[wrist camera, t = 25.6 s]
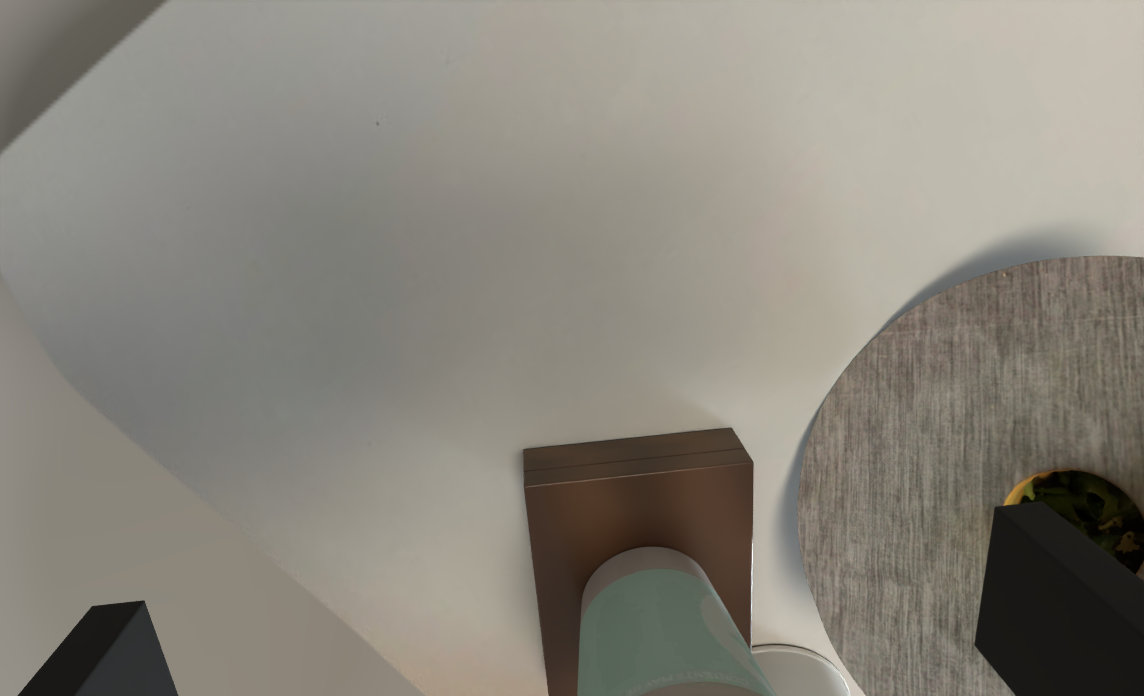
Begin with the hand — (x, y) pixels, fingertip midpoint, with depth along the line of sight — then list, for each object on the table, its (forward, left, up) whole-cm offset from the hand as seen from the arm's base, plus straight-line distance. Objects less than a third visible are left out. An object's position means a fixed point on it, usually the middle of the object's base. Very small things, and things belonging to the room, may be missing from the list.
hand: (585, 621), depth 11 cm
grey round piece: (+24, -14, -27) cm, 39 cm away
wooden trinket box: (+4, -19, -27) cm, 33 cm away
